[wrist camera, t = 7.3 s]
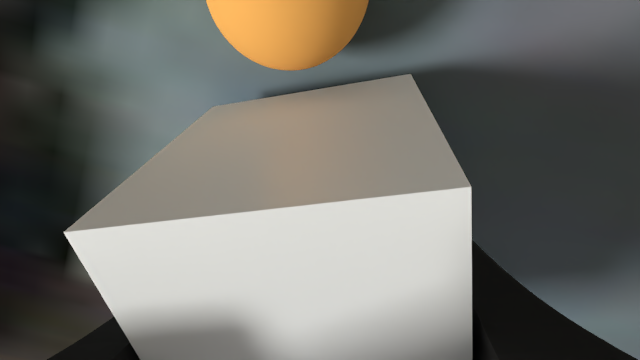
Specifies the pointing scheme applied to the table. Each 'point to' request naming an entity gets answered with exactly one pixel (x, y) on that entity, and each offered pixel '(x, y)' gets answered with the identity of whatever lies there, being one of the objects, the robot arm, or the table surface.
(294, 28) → the ball
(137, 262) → the cover
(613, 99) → the table surface
